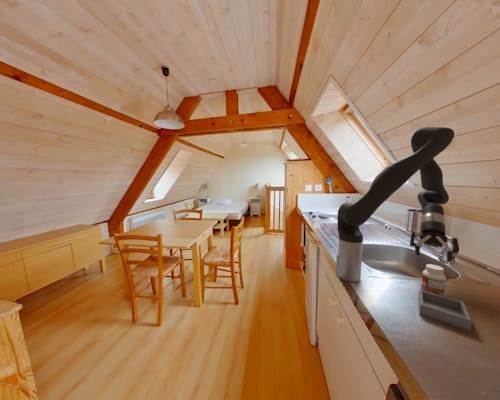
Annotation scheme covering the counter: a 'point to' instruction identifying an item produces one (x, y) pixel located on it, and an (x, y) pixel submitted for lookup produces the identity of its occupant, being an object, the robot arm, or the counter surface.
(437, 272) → the pill bottle
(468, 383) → the counter surface
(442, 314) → the charcoal bin
